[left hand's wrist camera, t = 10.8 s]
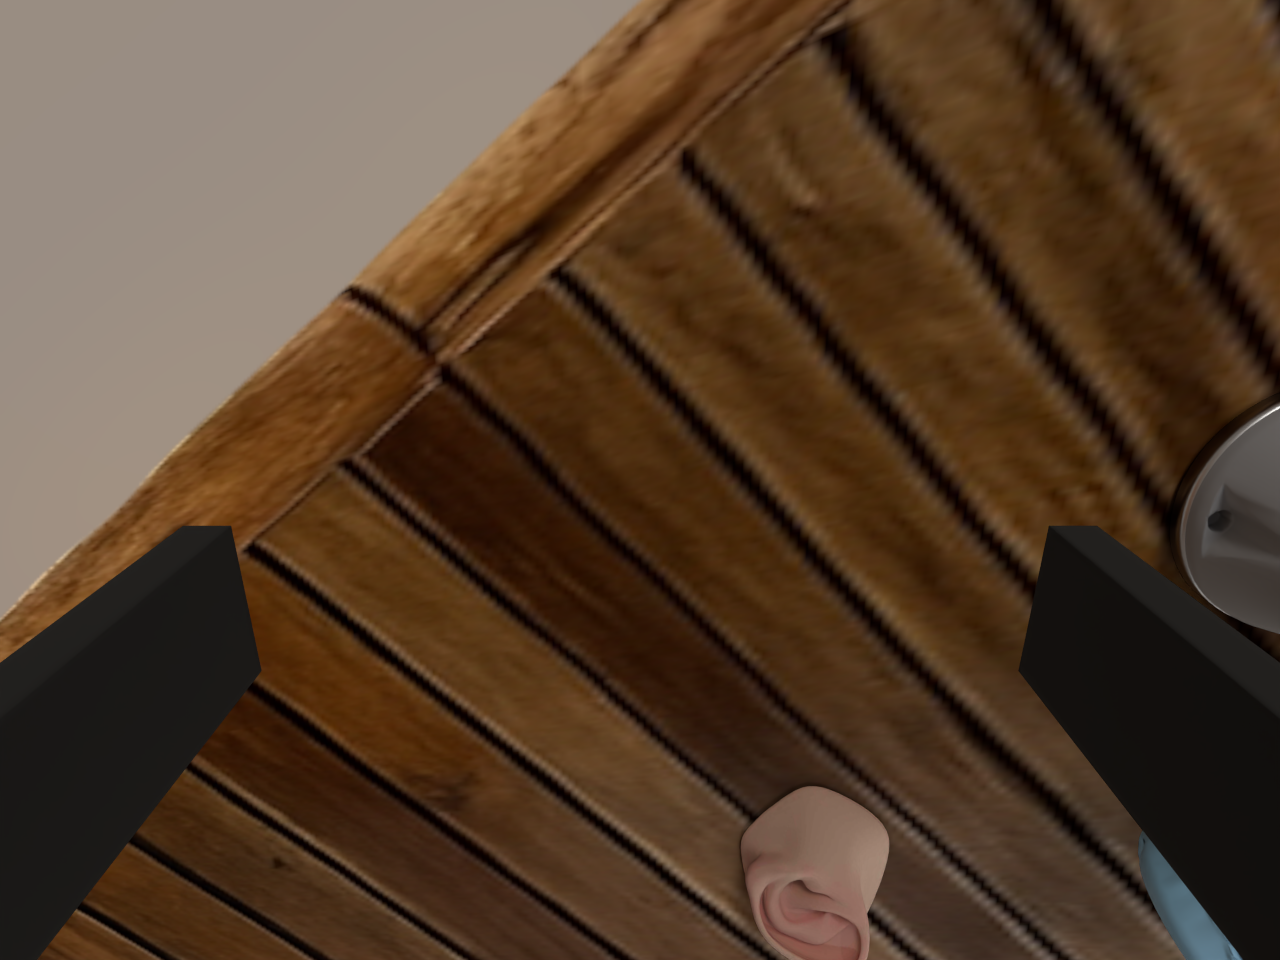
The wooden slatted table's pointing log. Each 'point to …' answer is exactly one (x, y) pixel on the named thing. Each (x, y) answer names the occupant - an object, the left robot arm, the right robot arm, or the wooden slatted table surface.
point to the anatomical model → (814, 874)
